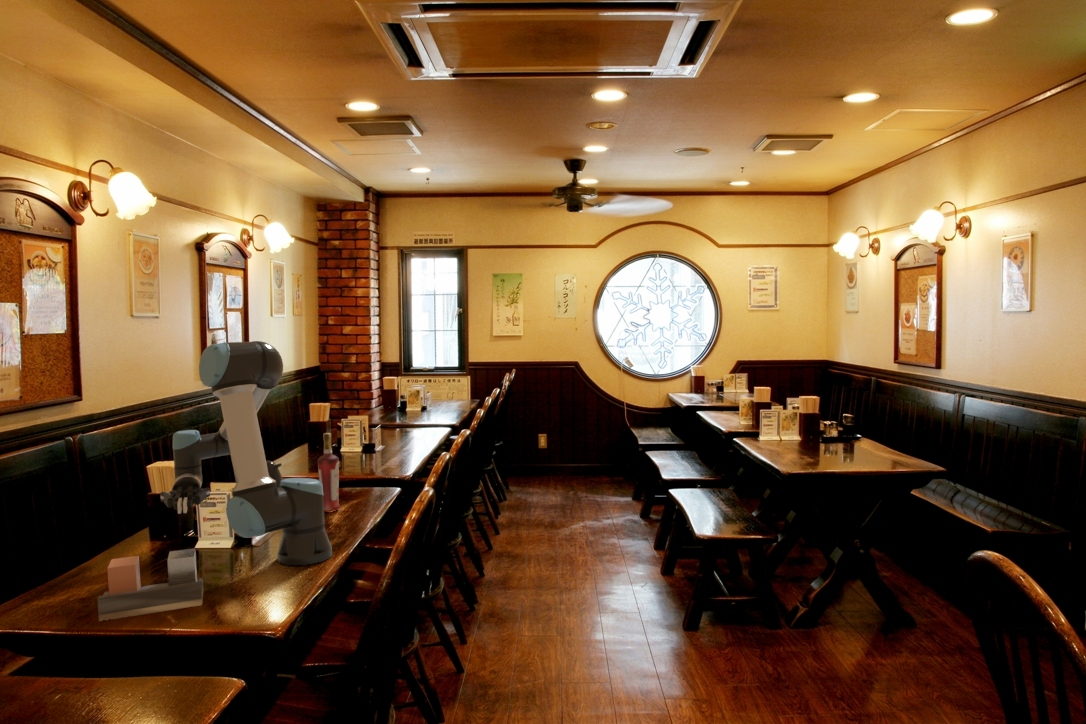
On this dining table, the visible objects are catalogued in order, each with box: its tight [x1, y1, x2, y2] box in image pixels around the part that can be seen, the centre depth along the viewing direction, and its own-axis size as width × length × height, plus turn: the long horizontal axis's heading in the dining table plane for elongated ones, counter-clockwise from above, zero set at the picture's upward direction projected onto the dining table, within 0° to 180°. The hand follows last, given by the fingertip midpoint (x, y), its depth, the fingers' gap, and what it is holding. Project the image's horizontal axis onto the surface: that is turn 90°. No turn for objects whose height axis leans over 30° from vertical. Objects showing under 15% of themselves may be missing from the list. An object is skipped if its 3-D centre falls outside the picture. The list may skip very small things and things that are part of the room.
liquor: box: [317, 432, 341, 511], centre depth 263 cm, size 7×7×28 cm
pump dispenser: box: [266, 460, 283, 488], centre depth 280 cm, size 10×10×15 cm
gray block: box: [167, 548, 198, 586], centre depth 188 cm, size 7×6×9 cm
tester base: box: [97, 577, 204, 622], centre depth 182 cm, size 10×22×6 cm, turn 113°
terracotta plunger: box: [106, 555, 142, 595], centre depth 183 cm, size 7×6×9 cm
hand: (181, 508), depth 196 cm, fingers closed
